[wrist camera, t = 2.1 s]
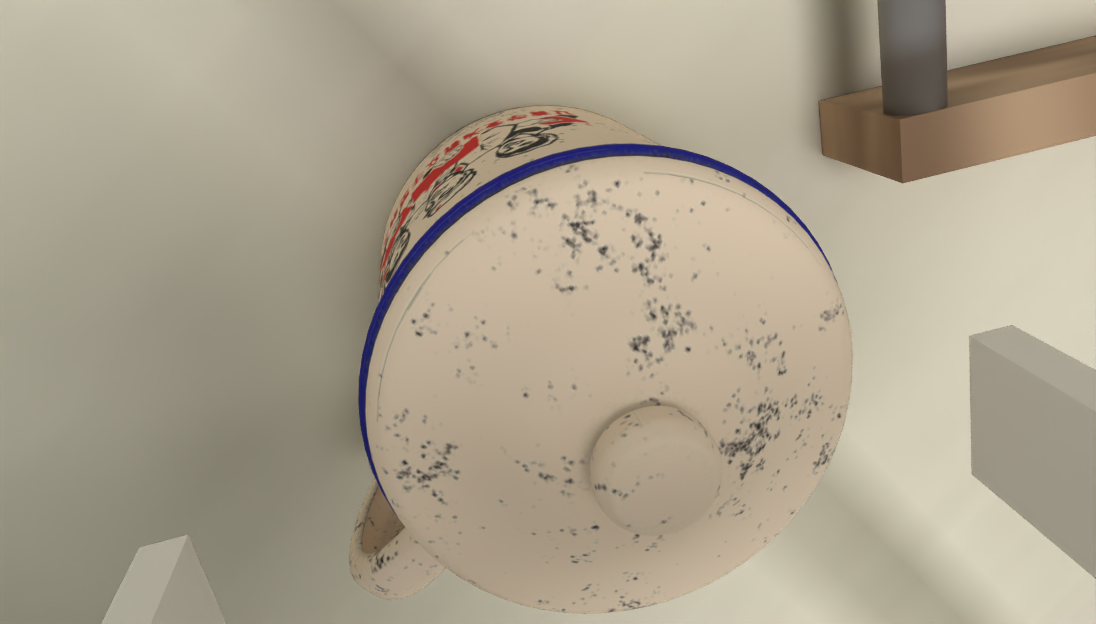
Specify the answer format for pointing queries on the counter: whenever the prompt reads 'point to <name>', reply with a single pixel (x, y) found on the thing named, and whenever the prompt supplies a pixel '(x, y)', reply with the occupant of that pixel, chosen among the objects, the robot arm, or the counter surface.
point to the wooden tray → (957, 101)
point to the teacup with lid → (590, 368)
